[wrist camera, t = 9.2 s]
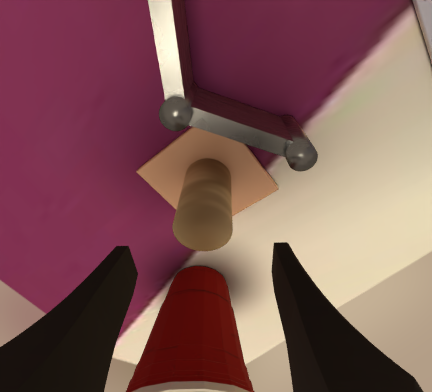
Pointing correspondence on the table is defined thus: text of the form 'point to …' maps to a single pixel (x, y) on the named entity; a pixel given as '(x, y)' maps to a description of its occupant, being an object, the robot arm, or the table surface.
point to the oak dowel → (204, 206)
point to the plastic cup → (193, 340)
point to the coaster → (214, 149)
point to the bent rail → (216, 97)
